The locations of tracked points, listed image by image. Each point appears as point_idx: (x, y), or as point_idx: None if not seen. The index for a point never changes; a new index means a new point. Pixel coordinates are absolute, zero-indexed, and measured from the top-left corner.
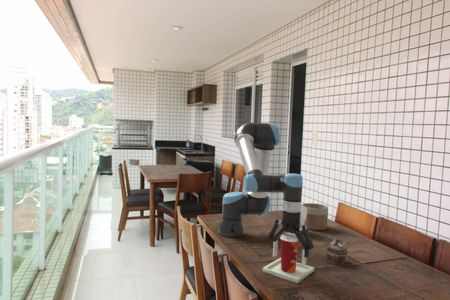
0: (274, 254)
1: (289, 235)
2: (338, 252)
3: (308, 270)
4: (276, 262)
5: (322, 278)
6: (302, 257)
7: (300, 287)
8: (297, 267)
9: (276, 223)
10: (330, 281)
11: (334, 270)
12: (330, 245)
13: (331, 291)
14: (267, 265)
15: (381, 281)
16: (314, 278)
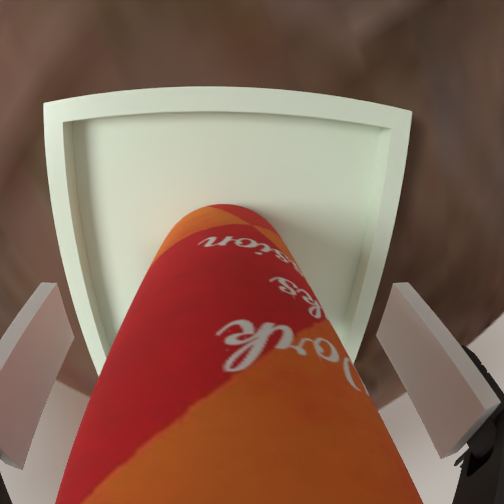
0: (64, 348)
1: None
2: None
3: (390, 209)
4: (75, 225)
5: (458, 201)
6: (409, 388)
7: (364, 376)
8: (265, 153)
9: None
10: (490, 212)
11: (483, 24)
12: None
13: (482, 310)
14: (86, 335)
15: None
16: (420, 236)
